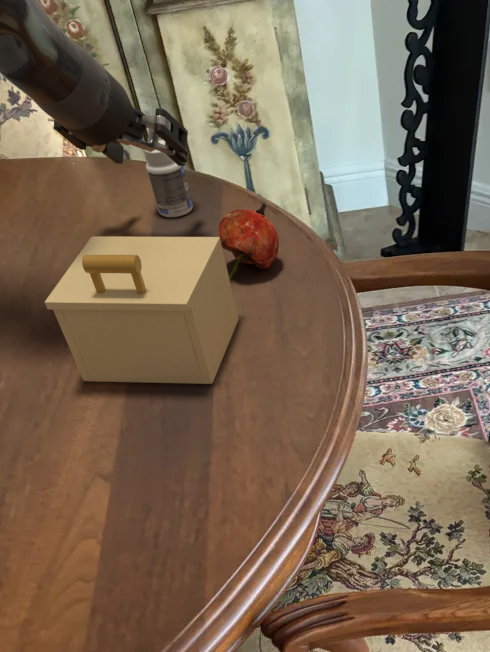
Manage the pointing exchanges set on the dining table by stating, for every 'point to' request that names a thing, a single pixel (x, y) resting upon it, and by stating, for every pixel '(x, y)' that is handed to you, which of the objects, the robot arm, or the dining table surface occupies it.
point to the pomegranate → (249, 237)
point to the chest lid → (135, 274)
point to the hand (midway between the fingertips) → (151, 157)
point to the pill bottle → (168, 184)
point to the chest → (156, 337)
